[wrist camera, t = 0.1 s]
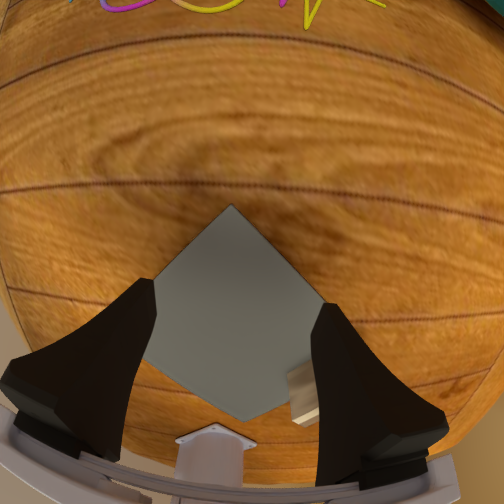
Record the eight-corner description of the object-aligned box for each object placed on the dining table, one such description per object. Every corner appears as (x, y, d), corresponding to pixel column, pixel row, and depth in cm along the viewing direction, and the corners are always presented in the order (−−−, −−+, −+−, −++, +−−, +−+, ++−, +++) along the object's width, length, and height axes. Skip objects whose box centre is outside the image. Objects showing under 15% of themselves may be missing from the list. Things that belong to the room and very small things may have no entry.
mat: (244, 420, 31) (243, 422, 31) (108, 327, 25) (107, 329, 25) (369, 348, 26) (370, 351, 26) (231, 203, 20) (230, 204, 20)
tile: (298, 382, 27) (305, 427, 22) (286, 373, 27) (292, 420, 21) (361, 341, 25) (380, 385, 20) (352, 331, 25) (371, 376, 19)
